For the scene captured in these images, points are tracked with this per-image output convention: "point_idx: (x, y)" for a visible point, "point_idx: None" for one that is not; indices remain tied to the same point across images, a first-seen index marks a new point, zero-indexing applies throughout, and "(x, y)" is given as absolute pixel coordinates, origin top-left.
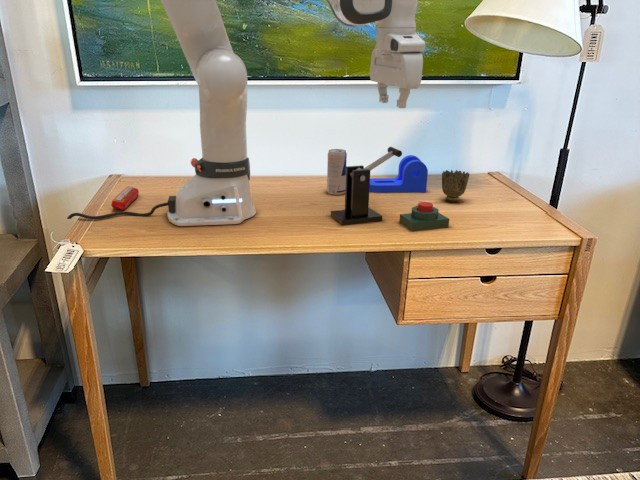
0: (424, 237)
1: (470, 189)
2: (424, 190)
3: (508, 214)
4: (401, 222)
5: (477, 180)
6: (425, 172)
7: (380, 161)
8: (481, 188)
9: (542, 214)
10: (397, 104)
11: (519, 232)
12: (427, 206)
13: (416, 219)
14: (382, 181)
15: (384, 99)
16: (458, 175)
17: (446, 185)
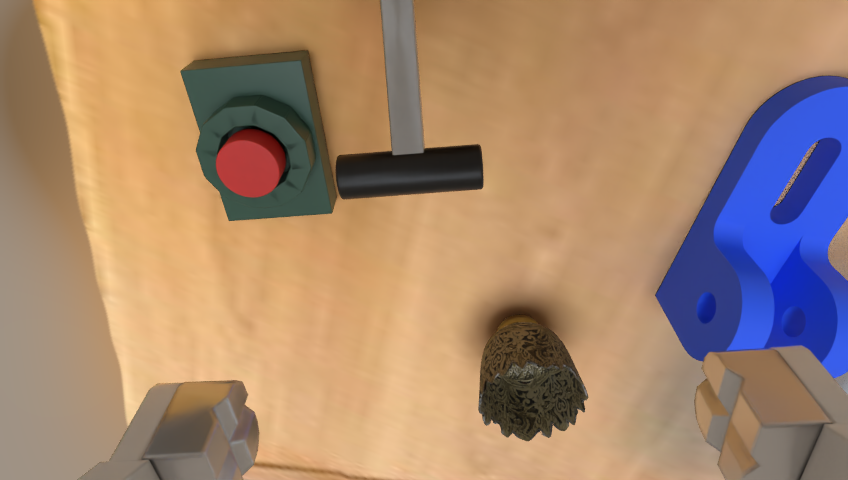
0: (125, 79)
1: (619, 420)
2: (660, 294)
3: (347, 403)
4: (287, 53)
5: (699, 470)
6: (689, 341)
7: (384, 42)
8: (615, 446)
9: (333, 464)
10: (199, 403)
11: (185, 361)
12: (216, 164)
13: (223, 101)
14: (822, 179)
15: (729, 409)
16: (561, 412)
17: (511, 342)
